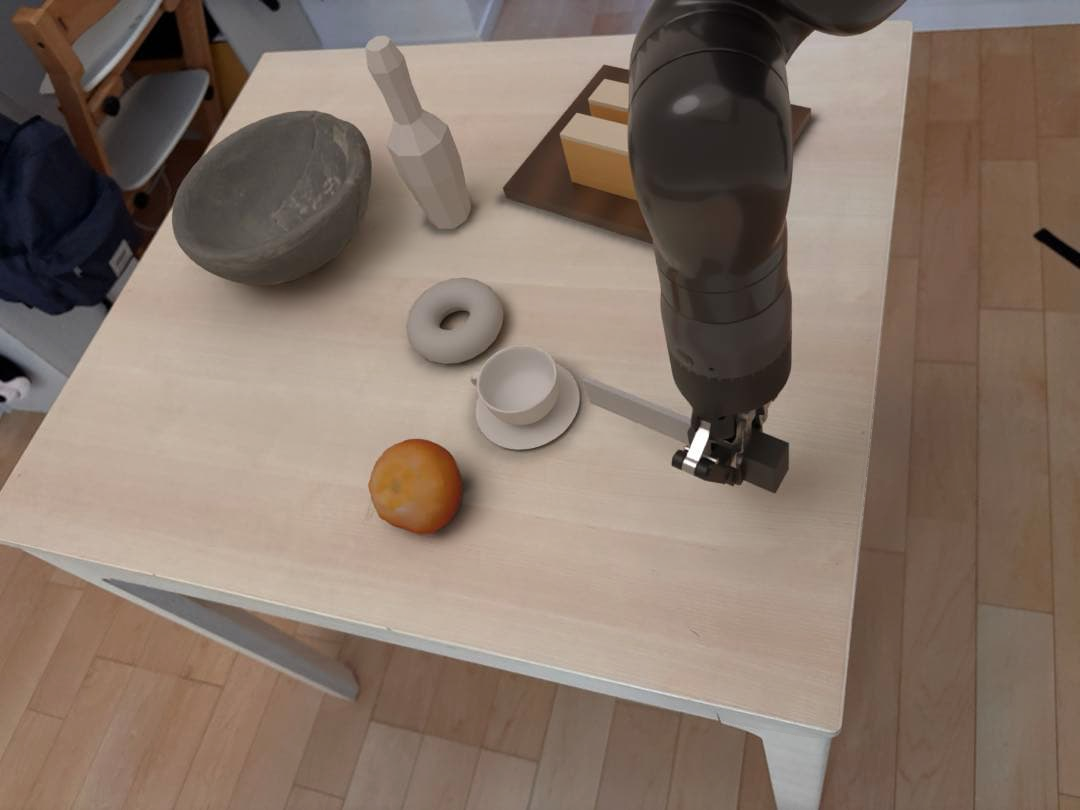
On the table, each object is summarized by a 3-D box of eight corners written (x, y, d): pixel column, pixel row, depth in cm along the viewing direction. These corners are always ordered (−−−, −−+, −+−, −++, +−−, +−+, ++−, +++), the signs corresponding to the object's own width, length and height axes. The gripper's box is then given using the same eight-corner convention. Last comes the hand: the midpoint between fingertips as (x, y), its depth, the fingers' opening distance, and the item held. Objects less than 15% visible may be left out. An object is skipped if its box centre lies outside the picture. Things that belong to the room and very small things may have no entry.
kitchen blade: (789, 468, 65) (789, 442, 62) (775, 494, 64) (774, 469, 61) (598, 390, 73) (590, 363, 70) (584, 412, 72) (574, 385, 69)
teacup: (595, 372, 81) (586, 342, 78) (558, 462, 77) (547, 435, 73) (500, 354, 85) (487, 325, 81) (460, 439, 81) (444, 412, 77)
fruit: (495, 457, 77) (446, 457, 70) (468, 540, 78) (417, 548, 71) (424, 427, 80) (371, 424, 73) (399, 506, 81) (344, 511, 74)
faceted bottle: (413, 226, 98) (332, 58, 80) (445, 188, 100) (373, 17, 82) (456, 241, 95) (382, 71, 77) (488, 202, 97) (423, 27, 79)
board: (810, 119, 93) (811, 108, 92) (716, 263, 85) (715, 253, 84) (605, 74, 105) (603, 64, 104) (505, 197, 97) (502, 187, 96)
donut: (525, 309, 88) (448, 280, 92) (518, 287, 85) (438, 259, 89) (472, 384, 84) (393, 351, 88) (462, 364, 81) (381, 331, 85)
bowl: (263, 167, 110) (222, 103, 102) (421, 172, 103) (391, 103, 94) (178, 309, 99) (124, 249, 91) (348, 326, 92) (306, 263, 84)
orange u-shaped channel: (710, 152, 92) (706, 100, 86) (669, 210, 88) (662, 160, 83) (613, 128, 97) (604, 78, 92) (571, 181, 94) (559, 133, 88)
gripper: (730, 437, 48) (743, 559, 62) (835, 259, 53) (825, 409, 67) (615, 390, 51) (651, 515, 65) (723, 227, 56) (736, 376, 70)
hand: (739, 461), depth 66 cm, fingers closed on kitchen blade, 2 cm apart
